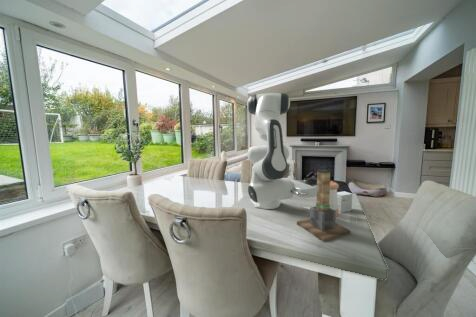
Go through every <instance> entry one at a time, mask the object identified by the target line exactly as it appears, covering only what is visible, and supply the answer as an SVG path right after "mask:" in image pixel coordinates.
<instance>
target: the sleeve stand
mask: <svg viewBox="0 0 476 317" xmlns="http://www.w3.org/2000/svg"><path fill="white" fill-rule="evenodd" d="M336 217H337V216H336V211H335V210H333V209H331V208H329V211H325V212H321V211H319V210H317V209H316V205H315V206H311V207H310V208H309V218H306V219H302V220H297V221H296V225H297V226H299V227H301V228H302V229H303V230H305V231H306V232H308V233H309V234H311V235H312V236H314V237H315V238H318V240H320V241H321V242H323V243H324V242H327V241H330V240H334V239H337V238H340V237H344V236H347V235H351V230H350V229H348V228H346V227H344V226H343V225H340V224H339V223H337V222H336Z"/></svg>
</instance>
